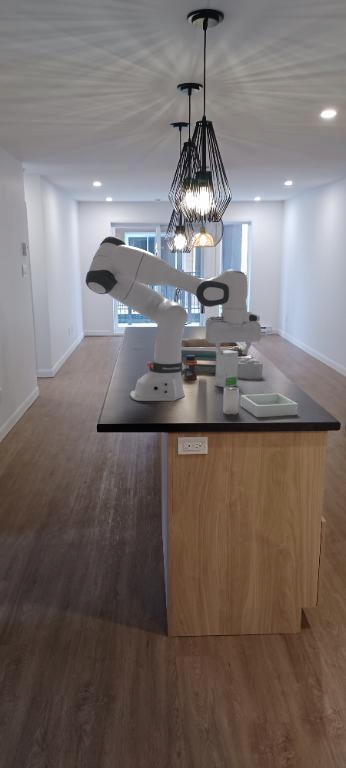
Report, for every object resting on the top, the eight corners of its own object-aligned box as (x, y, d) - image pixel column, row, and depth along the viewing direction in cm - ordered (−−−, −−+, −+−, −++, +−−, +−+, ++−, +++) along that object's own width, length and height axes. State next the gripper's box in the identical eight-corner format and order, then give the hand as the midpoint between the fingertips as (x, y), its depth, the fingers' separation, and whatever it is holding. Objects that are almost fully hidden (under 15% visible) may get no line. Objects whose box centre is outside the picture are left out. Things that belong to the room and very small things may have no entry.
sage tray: (256, 417, 191) (257, 406, 190) (240, 405, 206) (240, 395, 205) (297, 414, 195) (297, 403, 194) (278, 403, 210) (278, 393, 209)
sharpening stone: (178, 371, 268) (178, 349, 265) (180, 368, 275) (181, 347, 273) (227, 373, 264) (228, 351, 261) (229, 370, 271) (229, 349, 269)
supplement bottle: (196, 377, 254) (196, 354, 251) (197, 380, 248) (197, 356, 245) (183, 377, 253) (184, 354, 251) (184, 380, 248) (184, 356, 245)
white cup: (225, 414, 193) (226, 390, 191) (220, 410, 199) (221, 387, 196) (240, 414, 195) (241, 390, 193) (234, 409, 200) (235, 386, 198)
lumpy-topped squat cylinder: (262, 379, 252) (263, 361, 250) (235, 378, 253) (236, 360, 251) (259, 374, 263) (260, 357, 261) (233, 374, 263) (234, 356, 261)
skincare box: (224, 388, 233) (225, 353, 230) (214, 385, 238) (215, 351, 235) (237, 385, 239) (239, 351, 235) (227, 382, 244) (228, 349, 240)
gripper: (209, 317, 183) (208, 357, 186) (263, 316, 188) (262, 355, 191) (203, 315, 189) (202, 354, 192) (256, 314, 194) (255, 352, 197)
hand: (232, 354), depth 192 cm, fingers open, 8 cm apart
